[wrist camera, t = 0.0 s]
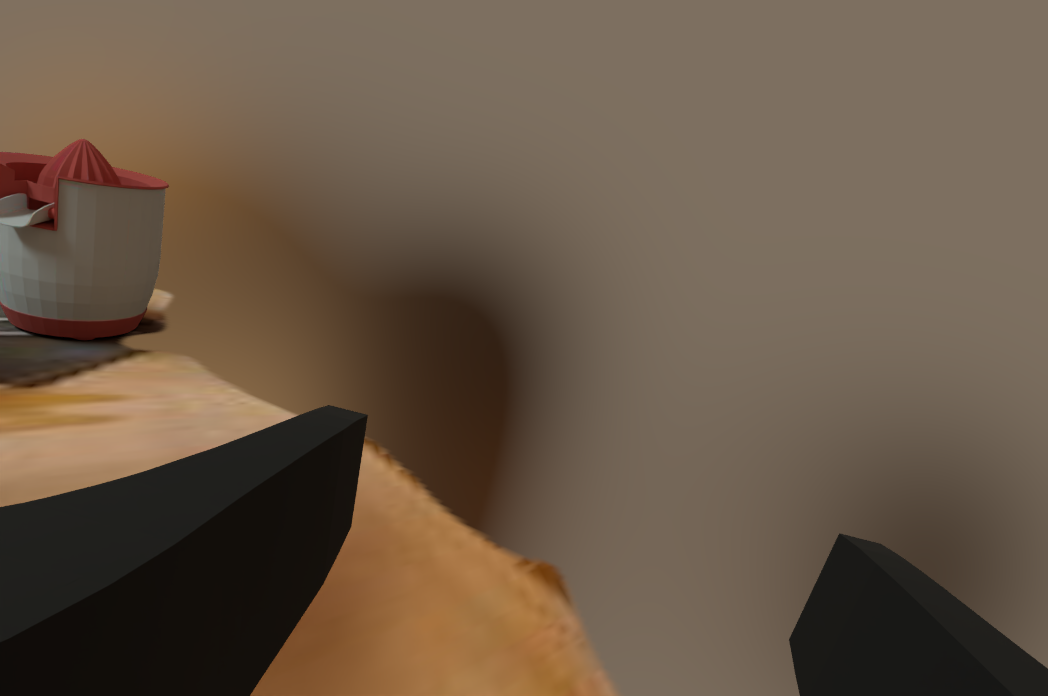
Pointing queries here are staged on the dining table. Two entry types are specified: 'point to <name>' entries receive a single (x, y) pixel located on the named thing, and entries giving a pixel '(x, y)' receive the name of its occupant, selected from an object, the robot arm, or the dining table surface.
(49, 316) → the citrus juicer
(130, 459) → the dining table surface
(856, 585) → the robot arm
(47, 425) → the dining table surface
